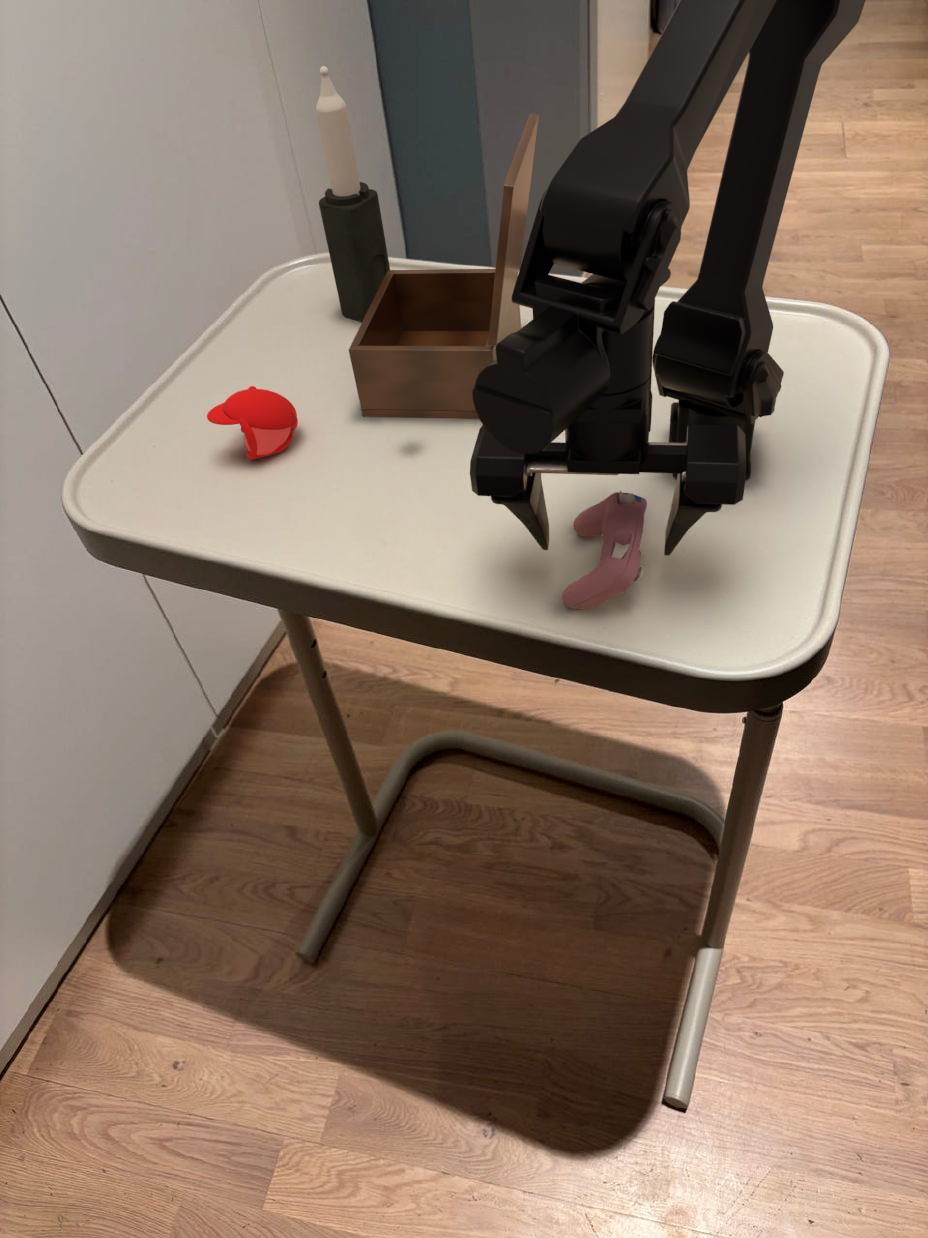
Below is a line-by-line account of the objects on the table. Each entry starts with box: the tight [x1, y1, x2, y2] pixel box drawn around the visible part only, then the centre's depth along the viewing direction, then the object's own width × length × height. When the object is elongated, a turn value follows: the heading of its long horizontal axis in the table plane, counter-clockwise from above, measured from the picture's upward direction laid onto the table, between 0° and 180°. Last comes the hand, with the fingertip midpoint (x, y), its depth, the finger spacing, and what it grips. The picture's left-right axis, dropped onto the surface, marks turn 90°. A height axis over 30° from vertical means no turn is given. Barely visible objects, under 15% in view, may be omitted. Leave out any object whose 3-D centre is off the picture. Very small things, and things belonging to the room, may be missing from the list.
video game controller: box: [561, 490, 648, 610], centre depth 72 cm, size 10×5×7 cm, turn 170°
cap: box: [206, 385, 299, 460], centre depth 88 cm, size 8×6×6 cm
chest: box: [348, 268, 522, 419], centre depth 93 cm, size 14×16×7 cm
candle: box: [315, 65, 391, 323], centre depth 98 cm, size 5×5×25 cm
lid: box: [488, 113, 539, 346], centre depth 84 cm, size 14×16×1 cm
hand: (605, 548), depth 72 cm, fingers open, 9 cm apart
